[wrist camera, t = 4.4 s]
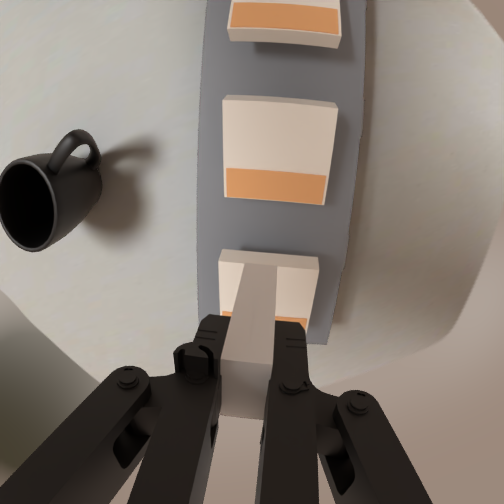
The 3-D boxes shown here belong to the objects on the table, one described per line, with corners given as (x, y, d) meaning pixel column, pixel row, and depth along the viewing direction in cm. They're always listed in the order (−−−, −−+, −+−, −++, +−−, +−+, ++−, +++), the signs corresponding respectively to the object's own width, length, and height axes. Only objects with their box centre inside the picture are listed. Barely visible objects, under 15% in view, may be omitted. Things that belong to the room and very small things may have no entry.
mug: (152, 162, 29) (102, 179, 20) (83, 234, 33) (31, 270, 24) (104, 103, 27) (44, 102, 18) (43, 181, 31) (-15, 203, 22)
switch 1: (241, -19, 18) (238, -39, 16) (332, -13, 18) (336, -33, 15) (231, 47, 19) (226, 27, 16) (335, 54, 18) (341, 35, 16)
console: (223, -24, 21) (211, -50, 16) (355, -16, 21) (368, -40, 15) (209, 305, 34) (197, 336, 29) (324, 316, 33) (330, 348, 28)
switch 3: (224, 243, 24) (217, 262, 22) (317, 251, 24) (319, 270, 22) (225, 311, 28) (220, 331, 26) (304, 318, 28) (305, 339, 26)
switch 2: (229, 92, 20) (222, 100, 18) (333, 99, 19) (338, 108, 17) (229, 181, 24) (223, 197, 22) (321, 188, 24) (324, 206, 22)
